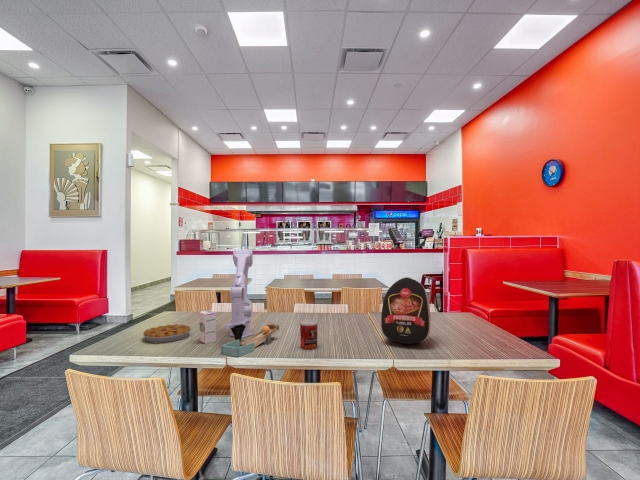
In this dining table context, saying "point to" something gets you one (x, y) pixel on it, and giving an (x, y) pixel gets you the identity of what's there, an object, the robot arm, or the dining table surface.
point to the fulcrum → (267, 340)
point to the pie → (166, 333)
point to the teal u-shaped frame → (236, 348)
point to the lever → (261, 335)
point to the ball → (266, 329)
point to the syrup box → (207, 326)
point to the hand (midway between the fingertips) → (238, 341)
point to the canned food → (308, 334)
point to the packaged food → (406, 312)
